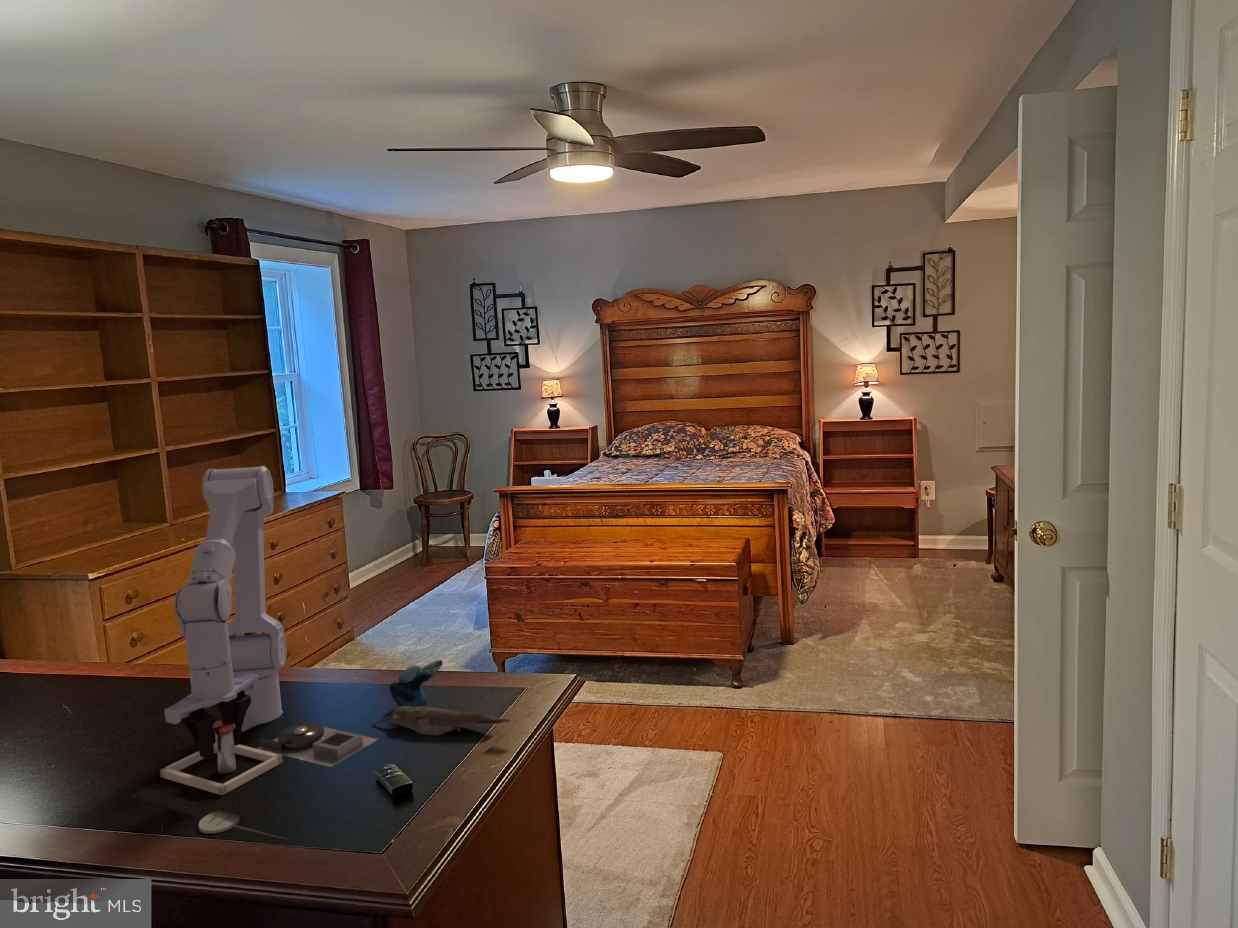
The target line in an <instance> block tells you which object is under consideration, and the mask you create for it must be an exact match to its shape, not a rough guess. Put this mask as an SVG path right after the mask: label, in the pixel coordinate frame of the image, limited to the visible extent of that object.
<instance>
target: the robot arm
mask: <svg viewBox="0 0 1238 928" xmlns="http://www.w3.org/2000/svg"><path fill="white" fill-rule="evenodd" d="M201 483H202V484H201V485H202V486H201V488H202V495H203V498H204V501H205V502H206V506H207V508H208V510H209V515H208V523H207V530H206V537H205V541H202V542H201V543H199V544H198V545H197V546H196V548H195V550H194V554H193V558H192V562H191V564H190V565H191V566H190V570H189V573H188V578H187V581H186V583H185V585H184V586H183V587H182V588H179V589H178V590H177V592H176V594H175V596H174V615H175V619H176V621H177V623H178V625H179V629H180V634H181V637H183V638H185V644H186V645H185V647H186V655H187V662H188V663H187V664H188V670H189V671H188V672H189V677H190V679H189V681H190V688H191V693H190V694H188V695H187V696H186V697H184V698H181V700H179V701H178V702H176V703H174V704H173V705H171V706H169V707H167V708H164V717H165V723H169V724H173V725H176V724H179V723H181V724H182V725H183V726H184V728H185V729H186V730H187V732H188V733H189V734H190V736H191V738H192V740H193V742H194V743H195V745H196V748H197V750H198V751H199V753H200V756H201V757H203V758H204V759H208V760H210V759H212V758H214V755H215V753H214V745H213V744H214V737H213V735H214V733H213V725H214V723H215V721H216V715H213V714H208V711H206V709H208V708H210V707H212V706H216V705H217V707H218V709H219V713H220V716H221V720H226V719H231V720H234V721H235V726H236V727H235V729H234V730H233V738H234V746H237V745H240V741H241V734H242V732H245V731H247V730H249V729H252V728H253V727H256V726H258V725H262V724H263V725H264V724H267V723H269V722H272V721H275V720H276V719H278V718H279V717H281V715H282V714H283V713H284V711H283V710H282V709H283V708H282V700H281V699H282V697H281V690H280V689H281V688H280V680H279V670H281V669H282V668H283V666H284V665H285V663H286V660H287V642H286V638H285V633H284V632H285V630H284V627H283V624H282V623H281V622H280V621H278V620H277V619H275V618H274V617H272V616H271V615H269V614H267V611H266V610H267V609H266V583H265V582H266V580H265V578H266V577H265V575H266V574H265V551H264V550H265V548H264V546H265V545H264V524H265V518H267V517H269V516H270V515H272V514H273V513H274V505H275V504H274V503H275V502H274V500H275V499H274V481H273V478H272V474H271V471H270V470H269V469H268V468H267V466H265V465H259V466H252V467H238V468H237V467H235V468H222V469H221V468H220V469H217V468H216V469H214V468H209V469H207V470H206V471H205V473H204V474H203V478H202V480H201ZM232 542H233V546H232ZM233 572H234V573H233ZM232 574H233V575H234V577H233V578H234V579H233V580H234V611H235V617H234V619H232V620H231V621H230V622H228V620H229V618H230V615H231V611H232V606H233V605H232V603H233V600H232V593H233V592H232V591H233V586H232V585H231V579H232ZM262 632H263V633H262ZM248 633H257V634H248ZM258 633H261V634H258ZM238 634H247V635H238ZM198 751H197V752H198Z"/></svg>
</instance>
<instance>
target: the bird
mask: <svg viewBox="0 0 1238 928" xmlns="http://www.w3.org/2000/svg"><path fill="white" fill-rule="evenodd" d="M385 722H390V723H392V724H396V725H399V726H403V728H407V729H410V730H413V731H414V732H416V733H417V734H420V735H425V736H441V735H445V734H447V733H451V732H453V730H457V731H458V732H462V727H465V726H471V725H477V724H479V725H480V724H481V725H496V724H502V723H509V722H510V719H507V718H501V717H495V716H490V715H487V714H485V713H484V714H483V713H481V712H479V711H474V712H473V711H472V712H470V711H456V710H453V709H445V708H439V707H437V708H435V707H430V706H426V707H425V706H420V707H411V706H401V707H400V706H398V707H397V708H396V709H395V710H394V711H392V712H391V714H390V715H389V716H386V717H384V718H382V719H380V720H378V721H376V722H374V723H373V724H371V725H370V726H371V727H374V726H376V725H379V724H381V723H385Z"/></svg>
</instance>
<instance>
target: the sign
mask: <svg viewBox="0 0 1238 928" xmlns="http://www.w3.org/2000/svg"><path fill="white" fill-rule="evenodd" d="M241 820H242V815H241V814H237V813H235V812H231V811H228V810H224V809H220V810H217V811H213V812H211V813H209V814H207V815H205V816H204V817H203V818H201V819H200V820H199V822H198V831H200V832H201V833H203V834H208V833H209V834H211V833H212V834H217V833H223V832H225V831H226V832H227V831H229V830H230V829H232V828H237V829H241V830H245V831H248V832H253V833H257V834H260V835H261V834H262V835H265V836H270V837H274V838H279V839H282V840H287V841H291V839H290V838H287V837H283V836H280V835H276V834H273V833H269V832H265V831H264V832H263V831H260V830H257V829H253V828H249V827H245V826H242V825H238V824H239V823H240V822H241Z"/></svg>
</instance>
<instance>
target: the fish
mask: <svg viewBox="0 0 1238 928" xmlns="http://www.w3.org/2000/svg"><path fill="white" fill-rule="evenodd" d="M443 663H444V662H443V660H442V659H437V660H434V661H431V662H430V663H427V664H425V665H424V666H422V667H421V666H420V665H417V664H412V665H410V666H408V667H407V668H406V669H404V670H403V671H402V672H401V674H400V676H399V678H398V681H396V682H392V683H391V684H389V692H390V694H391V697H392V699H393V701H394V702H395V703H396V704H397V705H398V707H401V706H411V707H420V706H425V707H427V700H426V693H425V691H424V690H423V688H422V687H421V686H422V684H424V683H425V682H426V683H430V679H431V678H434V677H435V676H436V675H437V674H438V672H439V671H440V669H441V668H442V666H443Z"/></svg>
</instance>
